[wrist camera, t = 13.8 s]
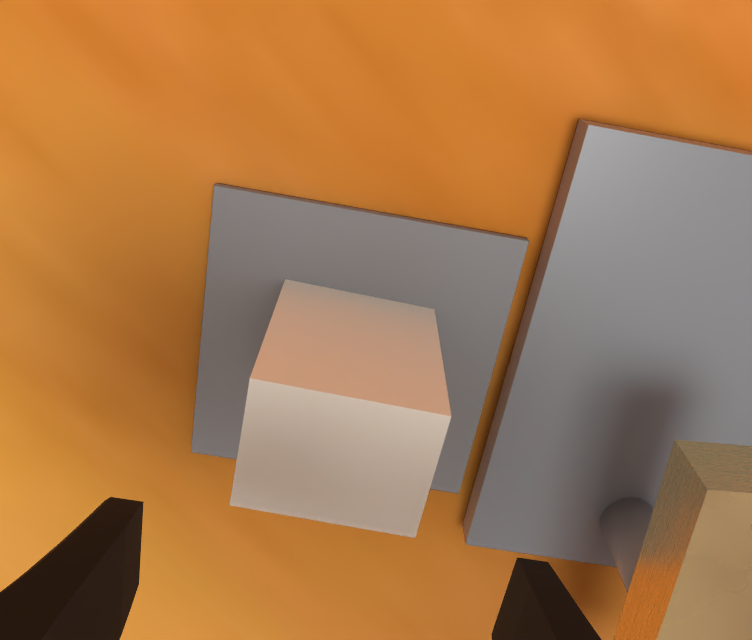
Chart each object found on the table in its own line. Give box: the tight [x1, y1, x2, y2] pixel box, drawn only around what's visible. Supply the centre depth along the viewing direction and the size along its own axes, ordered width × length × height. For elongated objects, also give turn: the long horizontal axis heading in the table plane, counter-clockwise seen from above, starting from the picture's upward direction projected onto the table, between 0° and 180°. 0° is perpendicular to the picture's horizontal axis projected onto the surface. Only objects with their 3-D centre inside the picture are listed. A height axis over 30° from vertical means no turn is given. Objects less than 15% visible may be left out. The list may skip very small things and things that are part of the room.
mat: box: [191, 183, 529, 493], centre depth 22 cm, size 9×9×1 cm
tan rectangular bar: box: [613, 440, 752, 640], centre depth 19 cm, size 2×11×2 cm, turn 175°
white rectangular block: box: [230, 279, 451, 538], centre depth 19 cm, size 4×6×4 cm
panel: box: [463, 119, 752, 593], centre depth 20 cm, size 10×14×5 cm
